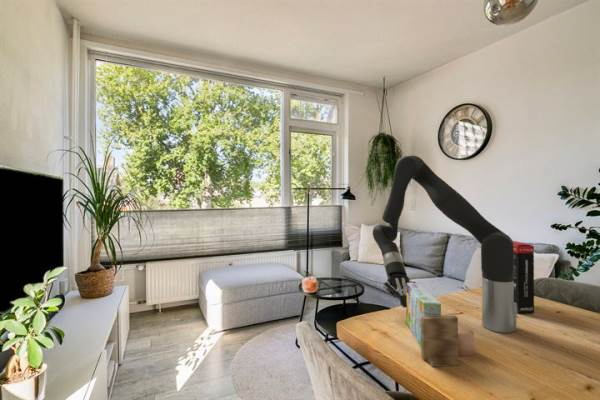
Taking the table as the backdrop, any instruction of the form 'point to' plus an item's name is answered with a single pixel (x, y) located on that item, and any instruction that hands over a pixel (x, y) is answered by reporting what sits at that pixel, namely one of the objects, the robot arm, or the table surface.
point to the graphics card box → (523, 277)
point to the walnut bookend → (440, 340)
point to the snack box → (420, 307)
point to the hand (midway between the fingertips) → (405, 306)
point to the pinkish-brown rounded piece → (465, 341)
